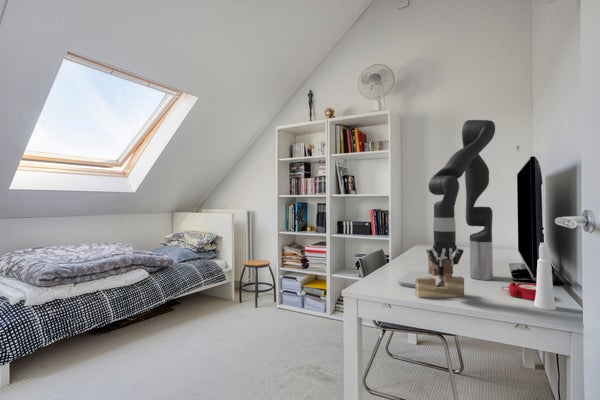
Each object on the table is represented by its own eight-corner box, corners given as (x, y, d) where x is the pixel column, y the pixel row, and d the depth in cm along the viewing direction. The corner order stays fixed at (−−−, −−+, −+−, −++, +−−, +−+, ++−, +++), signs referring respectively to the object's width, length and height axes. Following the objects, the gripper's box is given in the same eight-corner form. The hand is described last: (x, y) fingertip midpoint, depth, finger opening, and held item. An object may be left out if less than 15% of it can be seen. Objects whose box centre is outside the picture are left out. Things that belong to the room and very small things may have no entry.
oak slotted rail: (415, 295, 126) (415, 277, 126) (460, 294, 126) (460, 276, 126) (418, 297, 123) (417, 279, 123) (464, 296, 124) (464, 278, 124)
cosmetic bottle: (540, 309, 108) (539, 244, 107) (530, 304, 113) (529, 241, 113) (560, 310, 107) (559, 244, 106) (549, 304, 113) (548, 241, 112)
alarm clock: (553, 293, 114) (504, 279, 122) (548, 309, 115) (500, 294, 123) (550, 286, 123) (504, 273, 131) (545, 301, 123) (500, 287, 131)
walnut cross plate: (428, 273, 131) (428, 253, 131) (434, 272, 131) (434, 253, 131) (445, 281, 117) (444, 260, 117) (452, 281, 117) (451, 259, 117)
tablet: (446, 278, 153) (446, 273, 153) (435, 292, 131) (435, 286, 131) (411, 274, 162) (411, 269, 162) (395, 286, 140) (395, 281, 140)
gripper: (430, 231, 116) (431, 279, 116) (468, 230, 116) (469, 277, 117) (421, 229, 123) (422, 274, 124) (457, 228, 124) (458, 273, 124)
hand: (445, 275), depth 120 cm, fingers closed on walnut cross plate, 2 cm apart
